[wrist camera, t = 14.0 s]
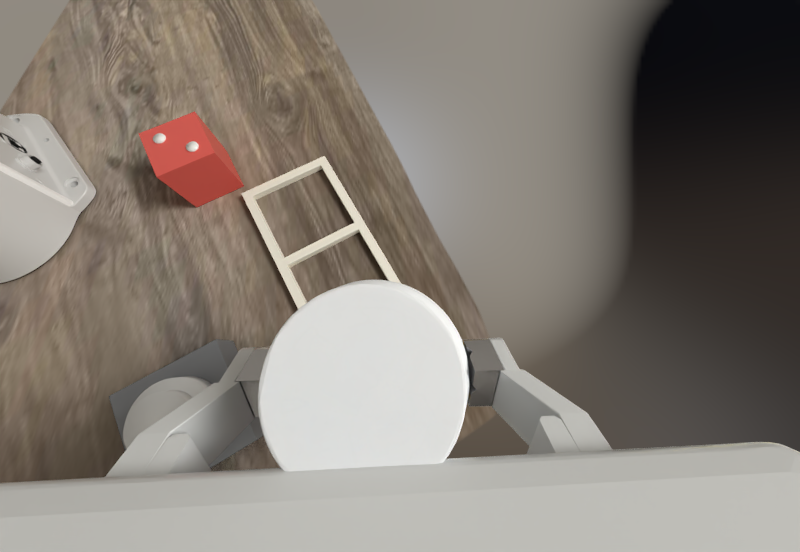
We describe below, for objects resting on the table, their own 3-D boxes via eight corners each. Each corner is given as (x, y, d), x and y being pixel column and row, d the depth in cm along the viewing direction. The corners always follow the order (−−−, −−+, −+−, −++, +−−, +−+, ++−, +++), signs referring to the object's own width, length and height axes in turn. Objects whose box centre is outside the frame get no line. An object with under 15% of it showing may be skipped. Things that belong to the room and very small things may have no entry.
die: (180, 170, 35) (137, 132, 29) (226, 150, 36) (193, 110, 30) (196, 207, 34) (155, 176, 28) (243, 186, 35) (213, 151, 29)
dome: (130, 402, 25) (99, 408, 23) (206, 361, 26) (185, 362, 24) (154, 480, 24) (123, 496, 21) (233, 433, 25) (214, 442, 22)
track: (244, 197, 34) (241, 193, 34) (326, 160, 36) (324, 155, 35) (365, 441, 28) (364, 443, 27) (458, 381, 29) (459, 381, 29)
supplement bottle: (311, 386, 18) (135, 453, 6) (363, 297, 20) (315, 199, 7) (403, 440, 17) (429, 652, 5) (449, 343, 19) (555, 322, 7)
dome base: (137, 392, 28) (108, 396, 25) (233, 340, 30) (216, 339, 27) (169, 492, 26) (142, 509, 23) (270, 431, 28) (256, 439, 25)
